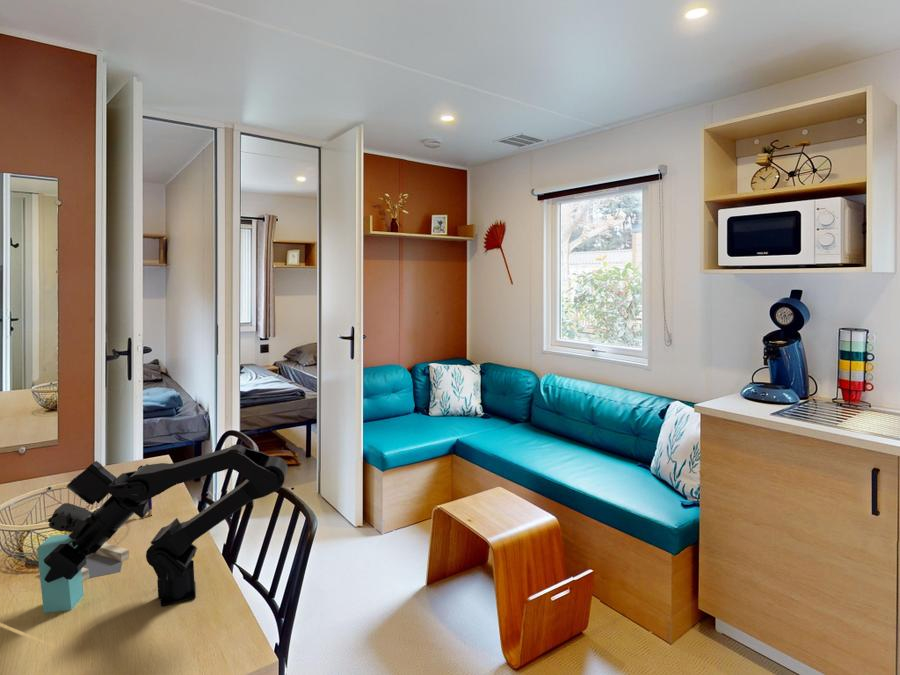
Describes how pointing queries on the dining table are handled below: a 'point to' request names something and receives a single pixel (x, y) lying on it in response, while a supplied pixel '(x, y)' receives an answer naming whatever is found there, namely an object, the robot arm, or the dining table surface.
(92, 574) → the mat
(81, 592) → the teal post
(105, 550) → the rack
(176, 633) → the dining table surface
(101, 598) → the dining table surface
